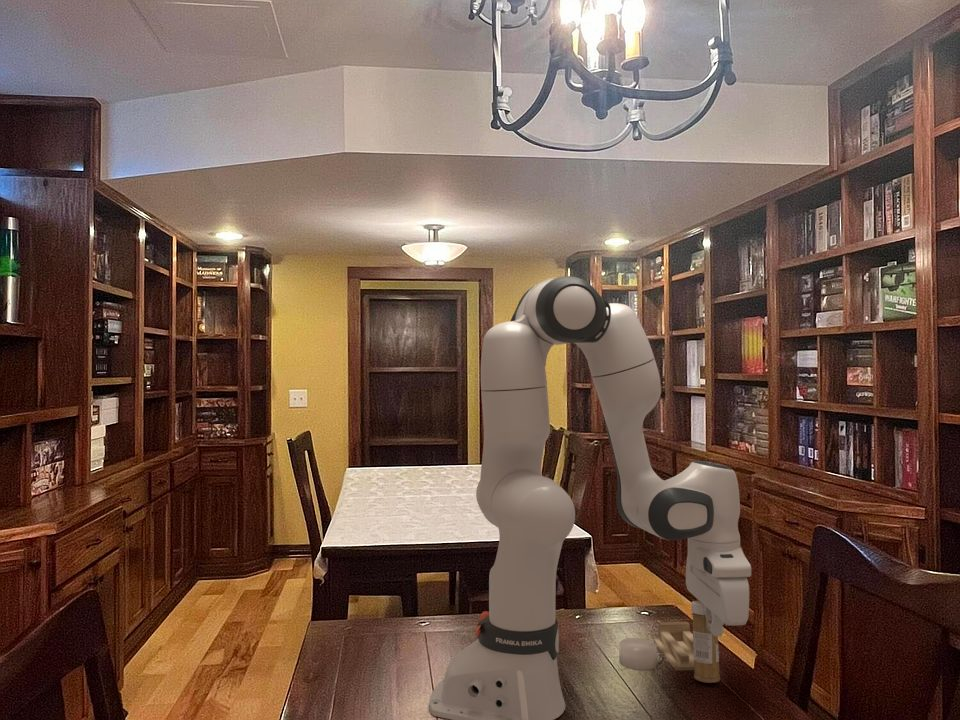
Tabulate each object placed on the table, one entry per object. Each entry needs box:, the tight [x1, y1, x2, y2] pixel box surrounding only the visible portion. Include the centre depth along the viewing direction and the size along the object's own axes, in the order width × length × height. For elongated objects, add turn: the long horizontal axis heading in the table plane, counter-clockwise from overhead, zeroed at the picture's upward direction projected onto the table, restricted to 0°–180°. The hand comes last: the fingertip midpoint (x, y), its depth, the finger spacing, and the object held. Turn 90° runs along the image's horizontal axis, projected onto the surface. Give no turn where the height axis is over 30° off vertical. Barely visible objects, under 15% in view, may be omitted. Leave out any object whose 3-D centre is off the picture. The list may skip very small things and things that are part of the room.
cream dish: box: [618, 637, 658, 671], centre depth 137 cm, size 7×7×4 cm
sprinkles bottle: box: [690, 600, 721, 684], centre depth 130 cm, size 5×5×14 cm
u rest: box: [653, 621, 694, 671], centre depth 141 cm, size 14×8×4 cm, turn 3°
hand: (714, 633), depth 126 cm, fingers closed
